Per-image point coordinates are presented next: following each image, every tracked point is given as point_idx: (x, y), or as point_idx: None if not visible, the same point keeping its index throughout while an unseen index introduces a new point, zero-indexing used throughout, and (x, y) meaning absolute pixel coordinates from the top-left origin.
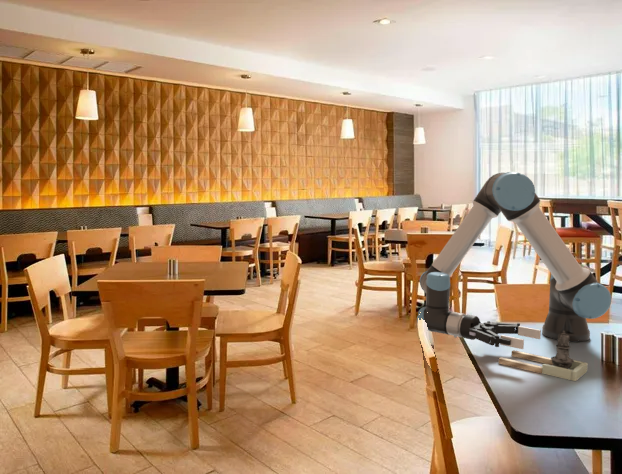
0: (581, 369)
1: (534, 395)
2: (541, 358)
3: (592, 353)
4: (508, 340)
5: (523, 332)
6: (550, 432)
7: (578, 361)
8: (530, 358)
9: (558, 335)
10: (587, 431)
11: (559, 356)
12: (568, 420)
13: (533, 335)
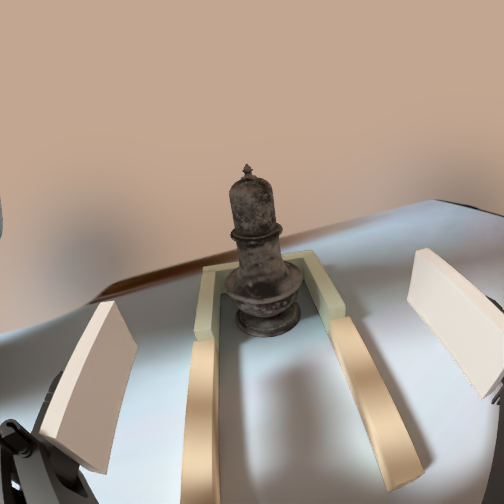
0: None
1: (468, 263)
2: (214, 379)
3: (46, 326)
4: (490, 299)
5: (96, 422)
6: (493, 216)
7: (205, 279)
8: (217, 429)
9: (260, 191)
10: (453, 208)
11: (283, 263)
12: (460, 219)
13: (120, 364)
